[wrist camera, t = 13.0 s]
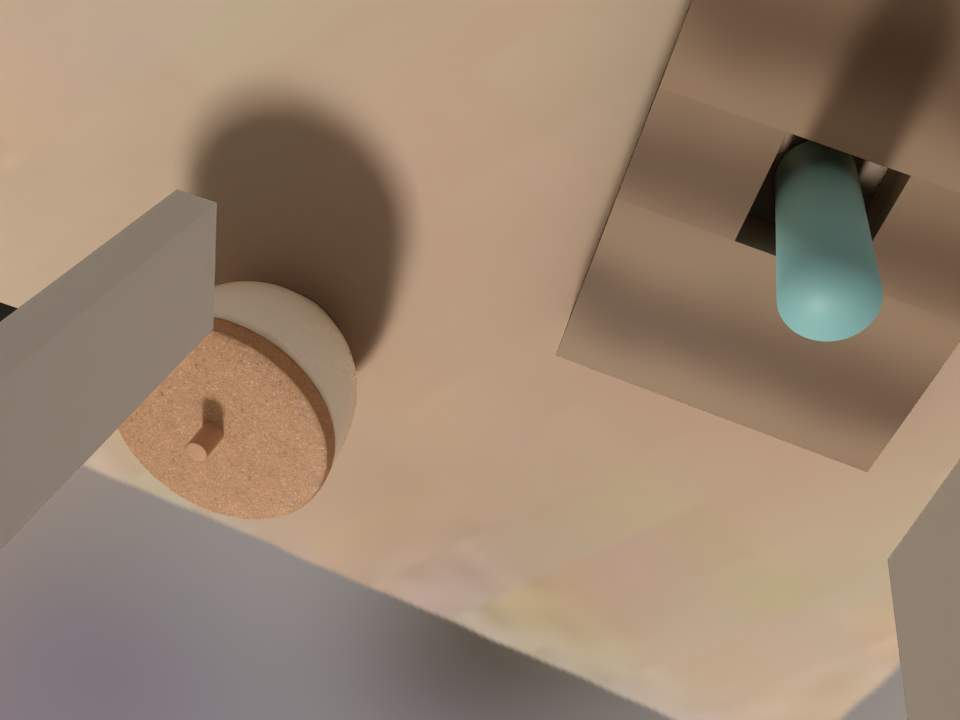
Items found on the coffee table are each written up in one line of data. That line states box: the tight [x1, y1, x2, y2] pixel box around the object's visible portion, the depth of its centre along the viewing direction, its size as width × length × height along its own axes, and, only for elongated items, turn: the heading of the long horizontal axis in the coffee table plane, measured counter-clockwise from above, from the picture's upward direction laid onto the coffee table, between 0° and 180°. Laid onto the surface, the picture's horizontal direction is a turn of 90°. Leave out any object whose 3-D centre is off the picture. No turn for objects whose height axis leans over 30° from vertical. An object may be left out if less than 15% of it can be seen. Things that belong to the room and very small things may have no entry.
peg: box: [775, 141, 883, 342], centre depth 32 cm, size 3×3×10 cm
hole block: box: [556, 0, 960, 472], centre depth 34 cm, size 20×14×3 cm
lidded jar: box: [118, 281, 357, 519], centre depth 43 cm, size 11×11×9 cm
